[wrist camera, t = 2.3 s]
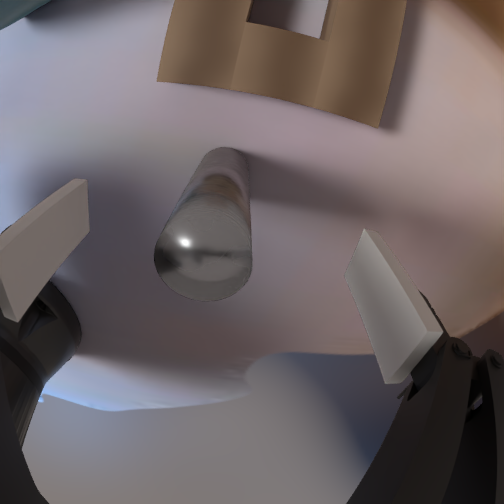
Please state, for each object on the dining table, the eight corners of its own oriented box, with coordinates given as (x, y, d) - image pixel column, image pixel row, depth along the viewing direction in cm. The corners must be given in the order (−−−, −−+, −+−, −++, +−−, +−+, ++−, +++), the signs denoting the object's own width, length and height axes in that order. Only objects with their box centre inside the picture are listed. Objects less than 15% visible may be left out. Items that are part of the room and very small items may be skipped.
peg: (196, 189, 21) (153, 292, 11) (203, 143, 19) (155, 210, 9) (243, 197, 22) (242, 307, 12) (253, 151, 20) (262, 227, 10)
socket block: (168, 82, 17) (156, 81, 14) (211, -72, 10) (207, -89, 7) (361, 122, 19) (377, 128, 16) (393, -26, 11) (411, -36, 9)
